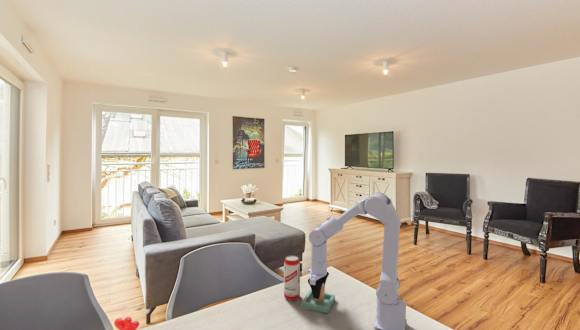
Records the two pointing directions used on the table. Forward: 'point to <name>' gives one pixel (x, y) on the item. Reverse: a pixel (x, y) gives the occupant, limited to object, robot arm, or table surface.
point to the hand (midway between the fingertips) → (318, 294)
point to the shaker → (322, 294)
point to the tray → (318, 303)
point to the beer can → (291, 278)
